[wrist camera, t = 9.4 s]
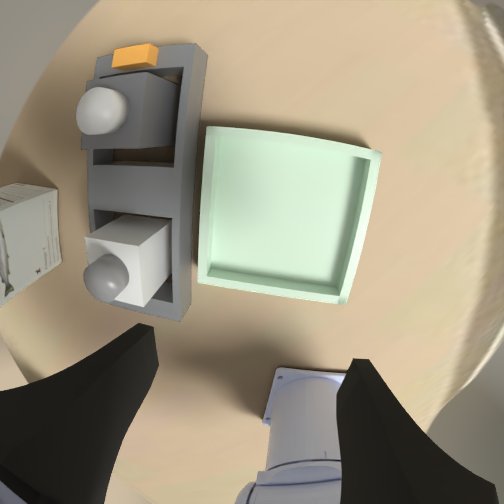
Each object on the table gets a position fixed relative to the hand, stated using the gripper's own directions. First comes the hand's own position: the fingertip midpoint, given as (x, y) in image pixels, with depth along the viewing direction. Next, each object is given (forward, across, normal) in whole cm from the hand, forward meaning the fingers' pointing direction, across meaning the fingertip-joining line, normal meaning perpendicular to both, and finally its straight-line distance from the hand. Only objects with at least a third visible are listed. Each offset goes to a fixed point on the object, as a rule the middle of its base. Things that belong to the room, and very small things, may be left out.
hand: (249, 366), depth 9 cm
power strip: (+10, +9, -4) cm, 14 cm away
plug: (+10, +9, -8) cm, 16 cm away
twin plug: (+10, +9, +1) cm, 14 cm away
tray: (+10, -1, -3) cm, 11 cm away
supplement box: (+11, +22, 0) cm, 24 cm away
